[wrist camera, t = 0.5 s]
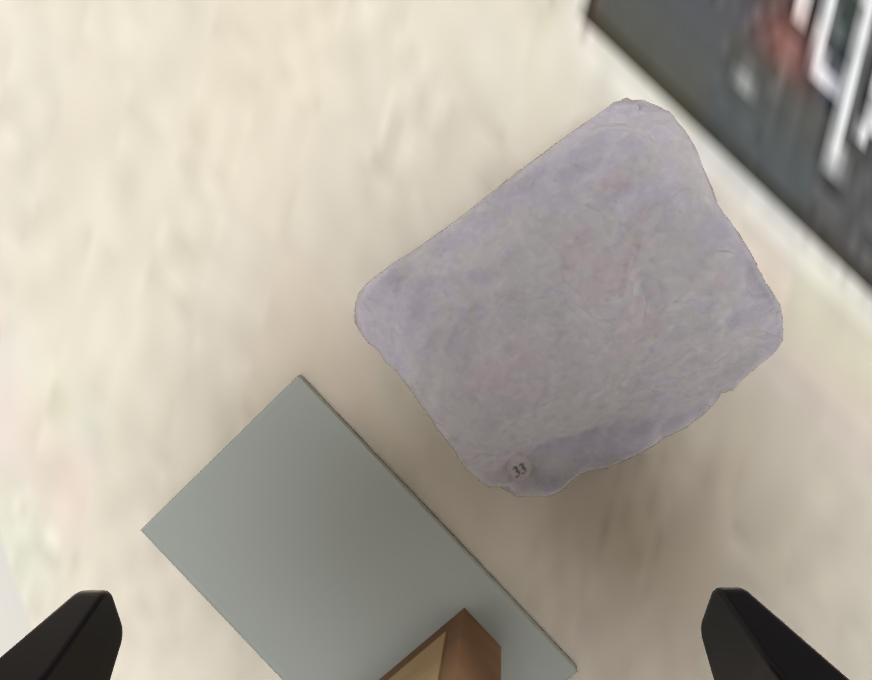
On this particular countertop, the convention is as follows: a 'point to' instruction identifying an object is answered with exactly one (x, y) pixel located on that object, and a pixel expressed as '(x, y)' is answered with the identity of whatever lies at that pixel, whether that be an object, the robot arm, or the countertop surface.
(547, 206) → the stone block
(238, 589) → the rubber mat
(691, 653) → the countertop surface
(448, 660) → the walnut tile
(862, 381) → the countertop surface
